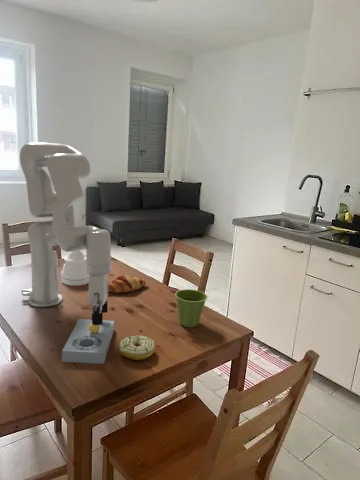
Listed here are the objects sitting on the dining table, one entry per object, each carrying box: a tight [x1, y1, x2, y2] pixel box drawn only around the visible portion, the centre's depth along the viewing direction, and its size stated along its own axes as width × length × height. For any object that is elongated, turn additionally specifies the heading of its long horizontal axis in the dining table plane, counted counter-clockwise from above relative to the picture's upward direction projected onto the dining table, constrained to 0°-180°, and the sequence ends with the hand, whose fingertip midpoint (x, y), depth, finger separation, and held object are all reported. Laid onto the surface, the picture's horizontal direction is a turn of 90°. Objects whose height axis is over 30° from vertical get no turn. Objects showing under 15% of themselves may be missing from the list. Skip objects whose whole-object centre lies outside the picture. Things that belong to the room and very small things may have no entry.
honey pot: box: [60, 250, 90, 287], centre depth 160 cm, size 13×13×18 cm
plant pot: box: [174, 288, 209, 328], centre depth 130 cm, size 12×12×11 cm
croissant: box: [108, 274, 148, 294], centre depth 156 cm, size 21×10×8 cm
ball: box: [89, 323, 100, 333], centre depth 112 cm, size 3×3×3 cm
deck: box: [61, 318, 115, 365], centre depth 112 cm, size 20×12×4 cm, turn 2°
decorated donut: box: [119, 335, 156, 361], centre depth 109 cm, size 10×11×4 cm
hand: (100, 318), depth 116 cm, fingers open, 9 cm apart
